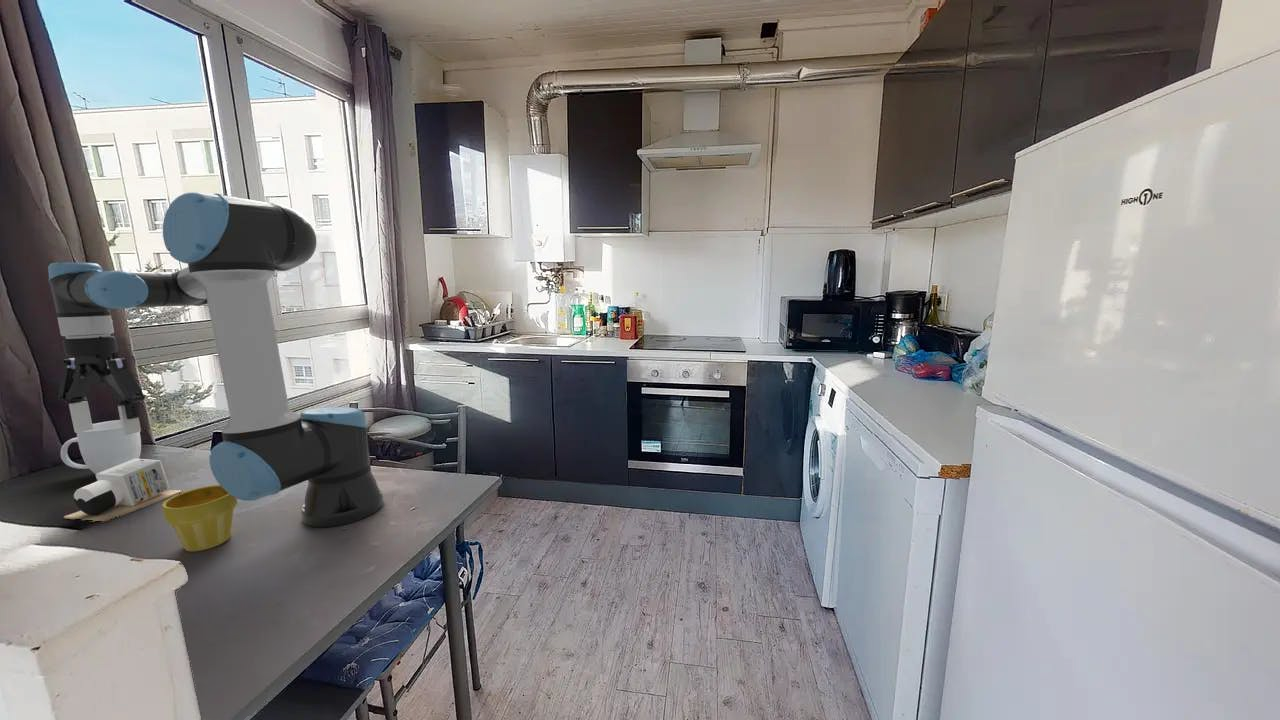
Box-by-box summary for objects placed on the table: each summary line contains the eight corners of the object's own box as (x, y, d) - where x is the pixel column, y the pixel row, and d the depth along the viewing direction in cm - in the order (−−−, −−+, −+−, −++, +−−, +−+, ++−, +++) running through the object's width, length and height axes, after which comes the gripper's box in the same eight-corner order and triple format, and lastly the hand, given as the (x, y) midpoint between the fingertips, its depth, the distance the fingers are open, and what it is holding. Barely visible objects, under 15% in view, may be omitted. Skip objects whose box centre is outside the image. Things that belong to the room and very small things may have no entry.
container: (171, 488, 113) (102, 521, 101) (145, 486, 114) (75, 518, 102) (161, 459, 111) (90, 489, 99) (135, 457, 112) (62, 486, 100)
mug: (53, 486, 118) (42, 436, 116) (78, 471, 128) (68, 424, 126) (135, 474, 125) (126, 427, 123) (153, 461, 135) (145, 417, 133)
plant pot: (164, 564, 84) (155, 513, 83) (176, 540, 93) (167, 493, 91) (239, 545, 90) (232, 497, 89) (244, 524, 99) (237, 479, 97)
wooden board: (183, 492, 114) (183, 490, 114) (103, 522, 100) (103, 520, 100) (146, 489, 116) (146, 487, 116) (63, 518, 102) (63, 516, 102)
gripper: (156, 334, 102) (172, 428, 106) (67, 334, 107) (86, 425, 110) (112, 338, 95) (132, 439, 98) (19, 338, 100) (41, 435, 103)
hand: (108, 432), depth 104 cm, fingers open, 13 cm apart
